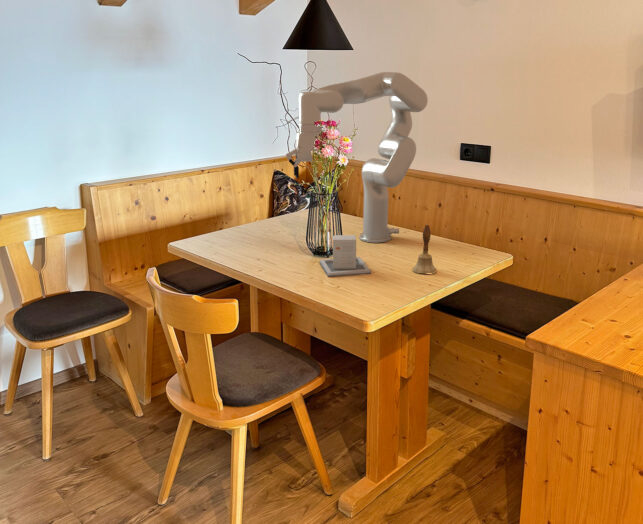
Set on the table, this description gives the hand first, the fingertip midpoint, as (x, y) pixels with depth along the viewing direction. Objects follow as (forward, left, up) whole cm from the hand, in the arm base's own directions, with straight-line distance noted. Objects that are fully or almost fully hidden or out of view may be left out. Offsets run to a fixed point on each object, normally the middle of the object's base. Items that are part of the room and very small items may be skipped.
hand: (310, 177), depth 229 cm
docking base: (-8, +20, -28) cm, 36 cm away
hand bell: (-34, +28, -29) cm, 53 cm away
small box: (-8, +20, -28) cm, 35 cm away
